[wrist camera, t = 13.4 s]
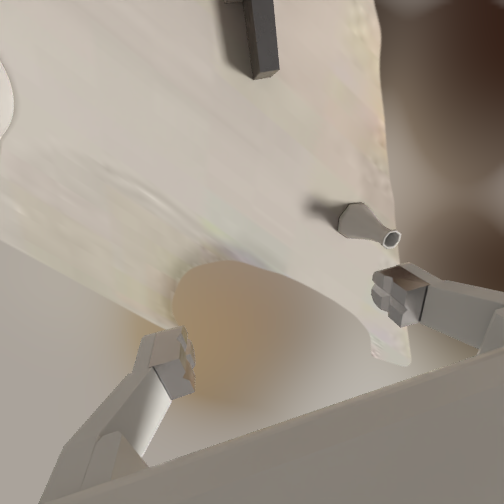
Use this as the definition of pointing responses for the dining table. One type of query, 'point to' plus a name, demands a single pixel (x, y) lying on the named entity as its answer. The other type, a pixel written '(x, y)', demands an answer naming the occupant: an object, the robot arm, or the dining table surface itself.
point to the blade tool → (261, 37)
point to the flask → (366, 226)
